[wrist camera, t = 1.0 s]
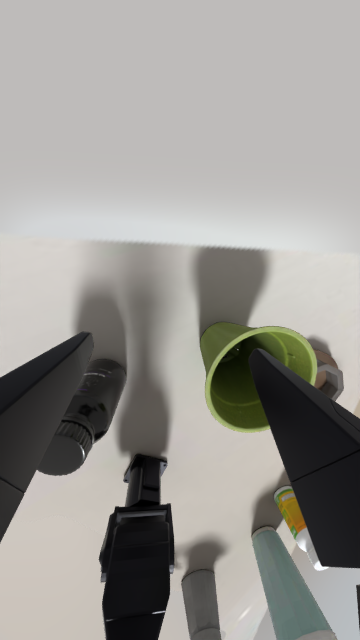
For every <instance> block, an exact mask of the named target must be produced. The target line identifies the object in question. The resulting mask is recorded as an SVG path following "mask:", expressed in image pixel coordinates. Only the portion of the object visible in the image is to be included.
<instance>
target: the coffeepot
mask: <svg viewBox="0 0 360 640" xmlns="http://www.w3.org/2000/svg"><path fill="white" fill-rule="evenodd" d="M181 585H182V591H183V597H184V604H185V609H186V616H187V622H188V629H189V635H190V639H191V640H221V634H220V625H219V615H218V605H217V595H216V584H215V577H214V573H213V572H211V571H209V570H198V571H195V572H192V573H190V574H189V575H187V576H186V577H185V578H184V580H183V582H182V584H181Z"/></svg>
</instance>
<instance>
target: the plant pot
mask: <svg viewBox="0 0 360 640" xmlns="http://www.w3.org/2000/svg"><path fill="white" fill-rule="evenodd" d="M234 347H235V348H237V349H238V350H237V349H235V348H234ZM200 349H201V353H202V357H203V361H204V365H205V370H206V383H205V398H206V402H207V406H208V408H209V410H210V412H211V414H212V415H213V416H214V418H215V419H216V420H217V421H218V422H219V423H220V424H222V425H223V426H225V427H227V428H229V429H232V430H234V431H238V432H245V433H253V432H260V431H264V430H268V429H270V426H269V423H268V421H267V418H266V415H265V412H264V410H263V407H262V404H261V401H260V399H259V396H258V393H257V391H256V388H255V384H254V381H253V377H252V373H251V369H250V365H249V357H250V355H251V354H252V352H253V350H254V349H263V350H264V351H266V352H267V353H268V354H270V355H271V356H273V357H274V358H275V359H277V360H278V361H280V362H281V363H282V364H284V365H285V366H286V367H288V368H289V369H291V370H292V371H293V372H295V373H296V374H298V375H299V376H300V377H302V378H303V379H304V380H306V381H307V382H309V383H310V384H311V385H313V386H314V384H315V380H316V374H317V360H316V356H315V353H314V350H313V348H312V347H311V345H310V343H309V342H308V341H307V340H306V339H305V338H304V337H303V336H302V335H300V334H299V333H297V332H296V331H294V330H291V329H288V328H285V327H279V326H266V327H260V328H251V327H246V326H242V325H237V324H233V323H227V322H219V323H215V324H213V325H212V326H210V327H209V328H207V329H206V331H205V332H204V334H203V336H202V337H201V341H200ZM225 355H227V356H228V357H226V358H223V359H221V358H222V357H223V356H225Z"/></svg>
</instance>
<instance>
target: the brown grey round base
mask: <svg viewBox="0 0 360 640" xmlns="http://www.w3.org/2000/svg"><path fill="white" fill-rule="evenodd" d="M313 350H314V353H315V356H316V360H317V374H316V380H315V384H314V387H316V388H317V389H318V390H320V391H321V392H322V393H324V394H325V395H327V396H328V397H329V398H331V399H332V400H334V401H336V399H337V398H338V397H339V395H340V394H341V393H342V391H343V389H344V385H343V372H342V371H340V370H338V366H337V364H336V362H335V360H334V359H333V358H332V357H331V356H329V355H327V354H325V353H323V352H321V351H318V350H315V349H313Z"/></svg>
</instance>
